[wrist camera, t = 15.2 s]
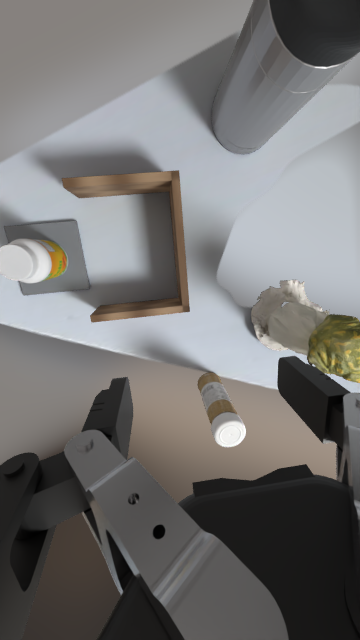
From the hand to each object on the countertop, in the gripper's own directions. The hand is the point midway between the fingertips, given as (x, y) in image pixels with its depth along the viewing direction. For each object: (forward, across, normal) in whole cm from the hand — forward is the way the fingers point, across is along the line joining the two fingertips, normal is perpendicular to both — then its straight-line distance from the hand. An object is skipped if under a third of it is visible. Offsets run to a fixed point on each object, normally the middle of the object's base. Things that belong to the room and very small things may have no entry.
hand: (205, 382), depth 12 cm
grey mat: (+28, +18, -7) cm, 34 cm away
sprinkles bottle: (+28, -6, +18) cm, 34 cm away
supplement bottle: (+28, +18, -7) cm, 34 cm away
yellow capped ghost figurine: (+28, -20, +6) cm, 35 cm away
